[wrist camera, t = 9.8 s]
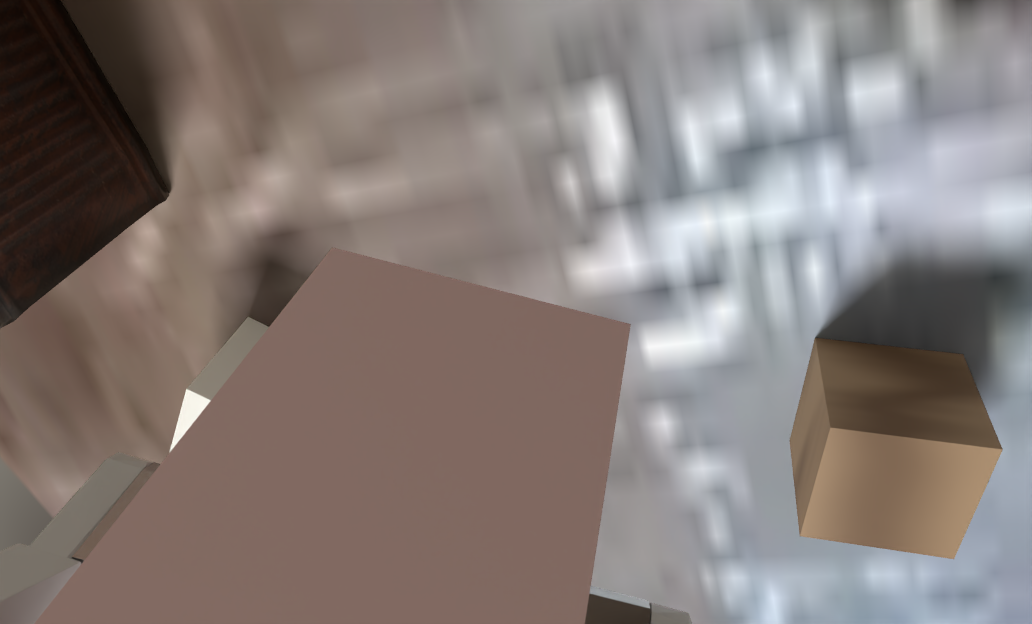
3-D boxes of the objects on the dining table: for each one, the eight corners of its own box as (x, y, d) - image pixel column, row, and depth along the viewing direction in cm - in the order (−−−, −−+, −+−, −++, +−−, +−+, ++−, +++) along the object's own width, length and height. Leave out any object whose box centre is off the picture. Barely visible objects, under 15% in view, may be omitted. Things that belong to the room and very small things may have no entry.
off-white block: (356, 367, 35) (308, 446, 31) (324, 440, 38) (277, 521, 34) (249, 315, 35) (186, 388, 31) (224, 393, 38) (165, 469, 34)
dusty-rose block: (630, 324, 12) (529, 987, 6) (566, 527, 15) (448, 1137, 8) (332, 247, 12) (-99, 789, 6) (322, 460, 15) (20, 996, 8)
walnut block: (962, 352, 29) (1002, 449, 25) (923, 456, 32) (953, 558, 28) (814, 336, 30) (830, 427, 26) (789, 439, 33) (799, 535, 29)
